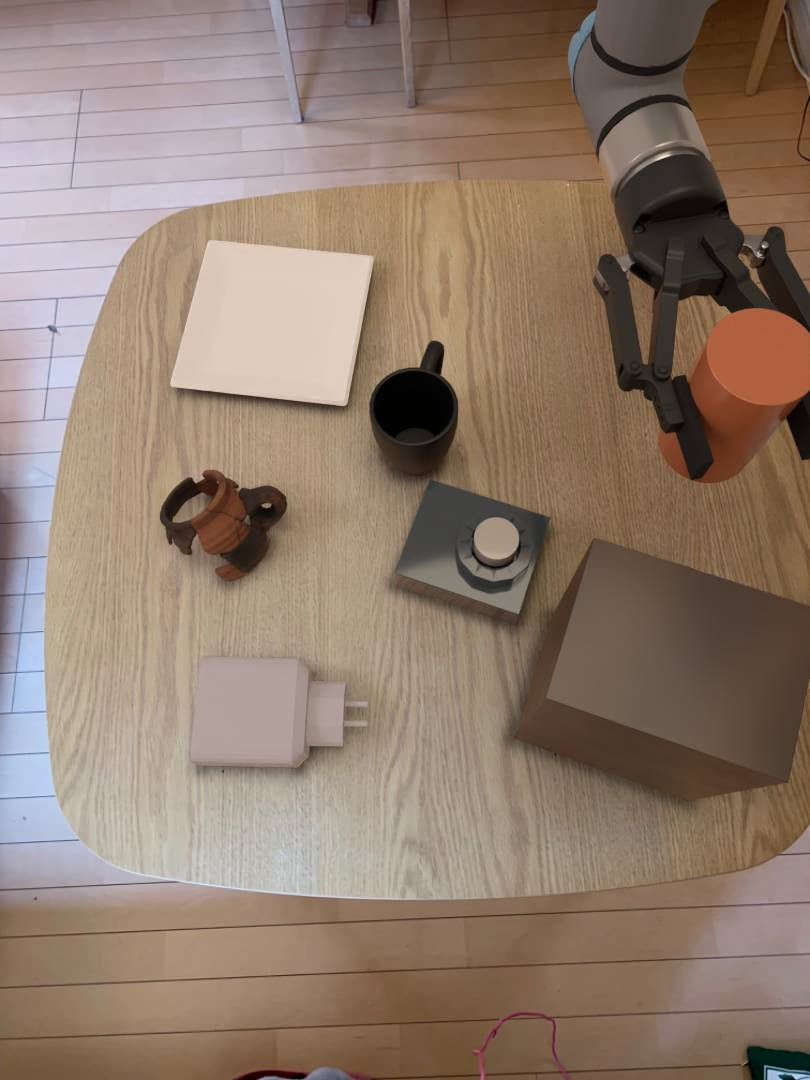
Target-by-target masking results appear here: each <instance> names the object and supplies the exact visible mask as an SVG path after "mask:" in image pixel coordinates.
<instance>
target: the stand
mask: <svg viewBox="0 0 810 1080" xmlns="http://www.w3.org/2000/svg"><path fill="white" fill-rule="evenodd" d="M546 630H547V631H546V634H545V637H544V640H543V644H542V647H541V650H540V653H539V657H538V659H537V663H536V666H535V670H534V673H533V676H532V679H531V682H530V686H529V689H528V692H527V695H526V699H525V701H524V705H523V708H522V712H521V715H520V718H519V721H518V724H517V728H516V731H515V733H514V737H513V738H514V740H517V741H520V742H523V743H525V744H528V745H531V746H534V747H537V748H540V749H542V750H545V751H547V752H551V753H553V754H557V755H560V756H563V757H565V758H567V759H570V760H573V761H575V762H580V763H582V764H585V765H588V766H591V767H593V768H596V769H598V770H602V771H603V772H604V771H605V772H608V773H609V774H612V775H616V776H619V777H620V778H624V779H627V780H630V781H632V782H635V783H638V784H641V785H644V786H647V787H649V788H652V789H655V790H658V791H661V792H663V793H667V794H669V795H672V796H675V797H677V798H680V799H682V800H686V801H688V802H689V801H694V800H695V801H696V800H700V799H704V798H712V797H716V796H723V795H729V794H732V793H733V794H734V793H738V792H745V791H750V790H755V789H761V788H767V787H773V786H779V785H783V784H784V785H785V784H787V783H789V782H790V776H791V771H792V768H793V767H792V766H793V762H794V758H795V757H794V756H795V753H796V752H795V751H796V747H797V742H798V737H799V732H800V727H801V723H802V719H803V718H802V717H803V714H804V713H803V712H804V706H805V703H806V698H807V692H808V687H809V683H810V605H809V604H805V603H802V602H799V601H796V600H793V599H790V598H786V597H784V596H780V595H777V594H774V593H772V592H768V591H764V590H762V589H759V588H755V587H752V586H749V585H746V584H742V583H740V582H736V581H733V580H730V579H727V578H724V577H721V576H718V575H714V574H711V573H708V572H705V571H702V570H699V569H696V568H692V567H689V566H687V565H683V564H681V563H677V562H674V561H671V560H667V559H665V558H661V557H657V556H655V555H651V554H649V553H646V552H643V551H639V550H635V549H633V548H629V547H627V546H626V547H625V546H623V545H621V544H617V543H614V542H611V541H608V540H605V539H602V538H598V537H595V536H594V537H592V540H591V542H590V543H589V545H588V548H587V550H586V551H585V553H584V555H583V557H582V558H581V561H580V563H579V564H578V566H577V568H576V570H575V572H574V574H573V576H572V578H571V580H570V582H569V583H568V585H567V587H566V589H565V591H564V592H563V595H562V597H561V598H560V600H559V602H558V604H557V606H556V608H555V610H554V612H553V613H552V615H551V618H550V621H549V624H548V627H547V629H546Z"/></svg>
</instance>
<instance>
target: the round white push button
mask: <svg viewBox="0 0 810 1080" xmlns="http://www.w3.org/2000/svg"><path fill="white" fill-rule="evenodd" d="M518 544H519V534H518V531H517V529H516V527H515V526H514V525H513V524H512V523H511V522H510V521H508V520H506V519H503V518H498V517H494V518H489V519H486V520H484V521H483V522H481V523H480V524H479V525H478V527H477V528H476V530H475V533H474V540H473V550H474V553H475V555H476V557H477V558H478V559H479V560H480V561H481V562H482V563H484V564H486V565H489V566H494V567H497V566H503V565H505V564H507V563H509V562H510V561H511V560H512V559H513V558H514V556H515V554H516V551H517V548H518Z"/></svg>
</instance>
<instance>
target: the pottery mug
mask: <svg viewBox="0 0 810 1080" xmlns="http://www.w3.org/2000/svg"><path fill="white" fill-rule="evenodd" d="M201 476H202V478H203V479H200V480H199V481H197V482H195V480H194V478H193V477H192V476H189V477H186V478H184V480H182V481H181V482H180V483H178V484H177V485H176V486H175V487H174V488H173V489H172V490H171V491H170V492H169V493H168V495H167V497H166V498H165V500H164V501H163V503H162V505H161V509H160V511H159V521H160V523H161V524H162V526H164V527H165V537H166V540H167V543H168V545H169V546H172V545H173V543H174V546H176V548H178V549H179V552H180V553H181V554H183V555H185V556H192V555H193V548H192V546H193V542H194V539H195V538H196V536H197V537H198V539H199V542H200V545H201V547H202V550H203V552H204V553H206V554H207V555H210V556H217V555H219V557H220V558H222V559H223V560H225V561H226V562H227V563H226V564H224V565H221V566H219V567H216V568H215V569H214V573H215V574H216V575H217V576H219V577H220V578H222V579H224V580H225V581H228V582H230V581H235V580H237V579H239V578H241V577H243V576H245V575H246V574H249V572H251V571H253V569H254V568H256V567H257V566H258V565H259V564H260V563H261V562H262V561H263V560H264V558H265V556H266V555H267V552H268V550H269V546H270V542H269V540H268V535H267V532H269V531H270V529H271V528H272V527H273V526H274V525H275V524H277V523H278V522H280V520H281V519H282V518H283V516H284V515H285V514H286V511H287V509H288V502H287V495H285V494H284V493H283V492H282V491H281V490H280V489H278V488H277V487H275V486H273V485H261V486H257V487H253V488H248V487H241V488H240V489H239V490H237V489H238V488H239V487H240V485H239V484H238V483H237V482H236V481H235V480H233V479H231V478H228V477H226V476H225V474H224V473H223V472H221V471H219V470H217V469H206V470H203V472H202V474H201ZM200 494H205V495H206V496H209V497H212V500H211V502H210V503H209V504H208V505H207V506H206V508H205V509H203V510H202V511H201V512H200V513H198V514H197V515H196V516H193V517H192V518H191V519H188V520H184V521H180V522H175V521H174V517H176V516H177V514H178V513H179V511H180V510H181V508H182V507H183V506H184V505H185V504H186V503H187V502H188V501H190V500H191V499H193V498H195V497H197V496H199V495H200ZM265 504H269V505H270V506H268V507H264V506H263V505H265ZM247 517H249V523H250V524H248V523H247V522H245V520H246V518H247Z"/></svg>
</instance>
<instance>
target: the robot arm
mask: <svg viewBox="0 0 810 1080" xmlns="http://www.w3.org/2000/svg"><path fill="white" fill-rule="evenodd" d="M718 1H719V0H597V3H596V9H595V10H593V11H592V12H591V13H589V14H588V15H587V17H585V19H583V21H582V23H581V26H580V27H579V28H578V29H577V31H576V33H574V34H573V35H572V36H571V37H572V38H571V39H570V43H569V46H568V51H567V64H568V65H567V66H568V69H569V75H570V82H571V83H570V84H571V90H572V92H573V93H574V99H575V101H576V103H577V105H578V107H579V109H580V112H581V115H582V117H583V121H584V123H585V127H586V129H587V132H588V135H589V137H590V141H591V143H592V146H593V149H594V152H595V156H596V158H597V161H598V165H599V169H600V171H601V175H602V177H603V180H604V183H605V184H604V185H605V187H606V189H607V193H608V196H609V199H610V202H611V204H612V206H613V209H614V215H615V218H616V221H617V224H618V227H619V230H620V233H621V237H622V240H623V243H624V246H625V247H626V249H627V253H625V254H622V255H619V256H617V257H616V256H615V255H613V254H611V253H604V254H602V255H601V256H599V259H598V263H597V266H596V269H595V273H594V276H593V280H592V283H593V286H594V287H595V289H596V291H597V292H598V294H599V296H600V297H601V299H602V300H603V302H604V307H605V313H606V320H607V325H608V331H609V338H610V344H611V351H612V356H613V362H614V368H615V374H616V375H615V376H616V380H617V386H618V389H620V390H621V391H622V392H624V393H629V392H632V391H634V390H636V391H637V390H638V391H642V395H643V397H644V399H645V400H647V401H649V402H652V405H653V408H654V411H655V415H656V418H657V421H658V424H659V426H660V427H661V429H662V430H663V431H664V433H665V434H668V433H674V432H675V433H676V436H677V439H678V442H679V445H680V448H681V451H682V454H683V458H684V461H685V464H686V467H687V470H688V473H689V476H690V479H691V480H690V479H689V480H690V481H692V480H696V479H701V478H702V477H703V476H704V475H705V473H706V472H707V471H708V469H709V468H710V467H711V465H712V464H713V463H714V459H713V456H712V453H711V450H710V447H709V444H708V441H707V438H706V435H705V432H704V429H703V426H702V423H701V420H700V417H699V414H698V411H697V408H696V405H695V402H694V399H693V396H692V393H691V390H690V387H689V384H688V381H687V378H686V376H687V375H686V374H680V375H675V376H673V378H672V373H673V368H674V367H673V366H674V354H675V345H676V344H675V343H676V332H677V323H678V322H677V321H678V309H679V302H680V301H685V300H687V299H689V298H691V297H709V296H710V297H711V298H712V300H713V301H714V302H715V303H716V304H717V305H718V306H719V307H721V308H723V307H725V308H726V309H727V310H728V311H729V312H730V314H732V313H734V312H737V311H740V310H744V309H751V308H762V309H769V310H774V311H777V312H780V313H783V314H785V315H787V316H789V317H791V318H793V319H794V320H796V321H797V322H799V323H800V324H801V325H802V326H803V327H804V328H805V329H806V330H807V331H808V332H809V333H810V292H809V290H808V288H807V286H806V285H805V283H804V281H803V279H802V277H801V276H800V274H799V272H798V270H797V269H796V267H795V265H794V263H793V262H792V260H791V258H790V256H789V254H788V253H787V245H786V237H785V231H784V230H783V229H782V227H779V226H777V225H774V226H773V225H772V226H770V227H768V229H767V230H766V232H765V234H752V233H751V234H750V233H749V234H747V233H744V231H743V229H742V228H741V227H739V226H738V225H737V224H736V223H735V222H734V221H733V219H732V217H731V216H730V210H729V203H728V200H727V196H726V195H725V192H724V189H723V186H722V184H721V181H720V178H719V176H718V173H717V170H716V168H715V166H714V164H713V162H712V158H711V154H710V151H709V149H708V146H707V144H706V141H705V139H704V136H703V134H702V132H701V129H700V127H699V125H698V122H697V120H696V117H695V114H694V111H693V109H692V106H691V103H690V101H689V98H688V95H687V93H686V90H685V87H684V75H685V71H686V68H687V65H688V62H689V60H690V56H691V54H692V53H693V50H694V46H695V44H696V42H697V38H698V35H699V32H700V29H701V26H702V24H703V21H704V18H705V15H706V13H707V11H708V9H710V7H711V6H713V4H715V3H716V2H718ZM740 255H743V256H745V257H746V258H747V260H749V267H750V269H752V270H756V274H757V278H758V281H759V282H760V284H761V286H762V288H763V290H764V291H765V292H763V290H761V288H759V286H758V285H757V284H756V283H755V282H754V280H753V279H752V278H751V272H750V269H749V268H748V266H747V265H746V264H745V263H744V262H743V261H742V259H740V257H739V256H740ZM631 274H632V275H633V276H635V277H636V278H637V279H639V280H640V281H641V282H643V283H644V284H645V285H647V286H648V287H650V288H651V289H653V296H652V305H651V314H652V318H651V329H650V338H649V348H648V356H647V358H648V359H647V363H644V361H643V356H642V355H643V354H642V351H641V345H640V339H639V332H638V326H637V322H636V316H635V310H634V304H633V299H632V293H631V288H630V287H631V286H630V283H629V281H630V280H631ZM765 293H766V294H765ZM785 420H786V422H787V425H788V427H789V430H790V433H791V435H792V438H793V440H794V444H795V446H796V449H797V452H798V455H799V457H800V459H801V461H807V460H810V391H809V392H808V393H807V394H806V395H805V397H804V398H803V399H802V400H801V401H800V402H799V404H798V405H797V406H796V407H795V408H794V410H793V411H792V412H791V413H790V414H789V415H788V417H787V418H786V419H785Z"/></svg>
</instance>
